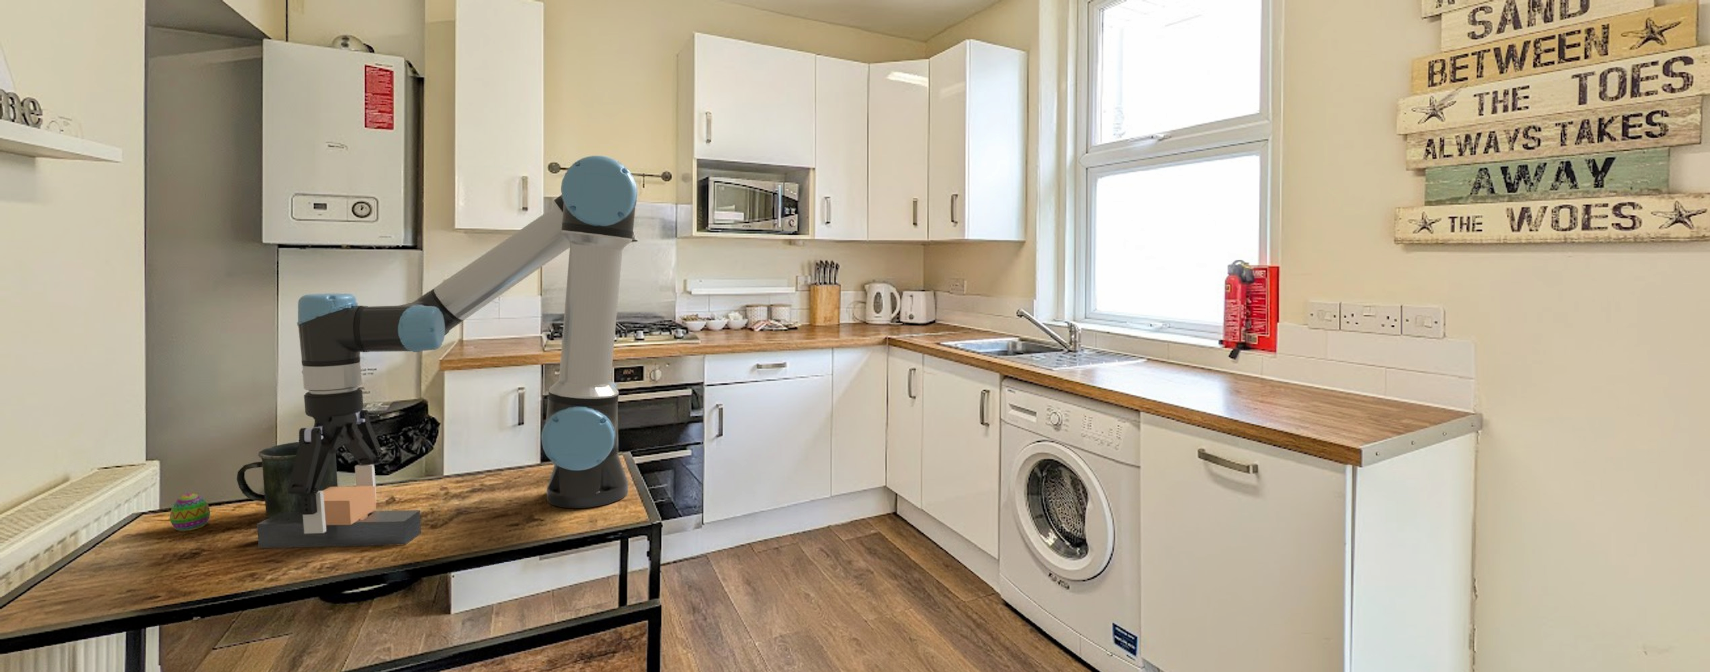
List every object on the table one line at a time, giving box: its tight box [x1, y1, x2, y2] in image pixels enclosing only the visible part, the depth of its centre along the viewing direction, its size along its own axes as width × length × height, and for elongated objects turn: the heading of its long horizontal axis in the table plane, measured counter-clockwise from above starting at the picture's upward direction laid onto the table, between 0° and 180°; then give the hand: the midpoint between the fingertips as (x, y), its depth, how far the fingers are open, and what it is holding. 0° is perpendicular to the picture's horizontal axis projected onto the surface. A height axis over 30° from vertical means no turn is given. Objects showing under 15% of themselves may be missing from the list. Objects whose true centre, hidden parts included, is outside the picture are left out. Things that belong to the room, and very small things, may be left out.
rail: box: [256, 509, 422, 549], centre depth 113 cm, size 22×5×4 cm, turn 97°
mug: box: [236, 441, 339, 519], centre depth 124 cm, size 11×15×12 cm
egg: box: [169, 493, 211, 532], centre depth 117 cm, size 5×5×6 cm
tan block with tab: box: [323, 485, 377, 525], centre depth 113 cm, size 7×7×7 cm
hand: (342, 516), depth 113 cm, fingers open, 13 cm apart
